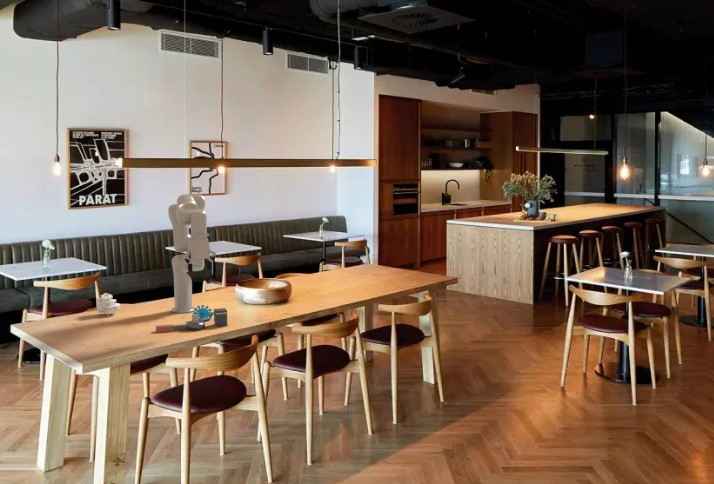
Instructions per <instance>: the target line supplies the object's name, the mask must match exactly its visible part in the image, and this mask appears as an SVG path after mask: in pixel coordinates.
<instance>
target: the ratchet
mask: <svg viewBox="0 0 714 484" xmlns="http://www.w3.org/2000/svg"><path fill="white" fill-rule="evenodd" d="M199 318H200V317H199V314H191V320H190V321H187V322H186V324H175V325H174V324H164V325H155V332H156V333H158V334H159V333H160V334H161V333H169V332H180V331H181V332H182V331H190V332H191V331H193V332H198V331H199V332H200V331H203V330H205V329H206V322H205V320H204V321H202V320H199Z"/></svg>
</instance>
